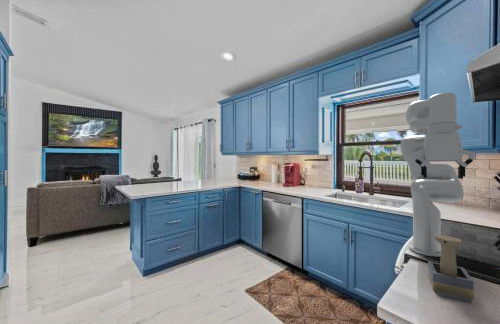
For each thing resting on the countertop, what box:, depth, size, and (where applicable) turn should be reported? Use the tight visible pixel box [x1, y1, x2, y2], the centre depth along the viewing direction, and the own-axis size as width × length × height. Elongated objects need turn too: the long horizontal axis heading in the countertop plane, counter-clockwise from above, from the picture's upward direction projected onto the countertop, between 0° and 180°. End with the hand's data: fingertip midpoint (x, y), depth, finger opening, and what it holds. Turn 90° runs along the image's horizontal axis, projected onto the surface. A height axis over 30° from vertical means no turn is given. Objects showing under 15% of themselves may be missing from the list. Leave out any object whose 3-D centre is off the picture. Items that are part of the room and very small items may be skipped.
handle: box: [435, 234, 463, 277], centre depth 70 cm, size 5×6×15 cm
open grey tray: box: [427, 260, 475, 304], centre depth 70 cm, size 16×9×5 cm, turn 148°
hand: (442, 178), depth 79 cm, fingers open, 9 cm apart
